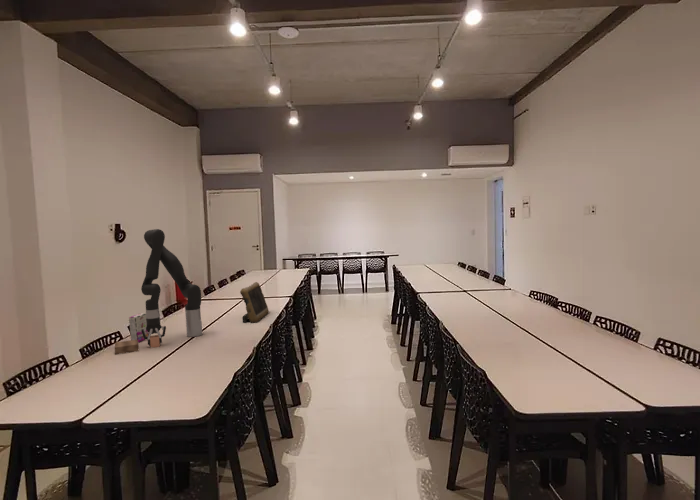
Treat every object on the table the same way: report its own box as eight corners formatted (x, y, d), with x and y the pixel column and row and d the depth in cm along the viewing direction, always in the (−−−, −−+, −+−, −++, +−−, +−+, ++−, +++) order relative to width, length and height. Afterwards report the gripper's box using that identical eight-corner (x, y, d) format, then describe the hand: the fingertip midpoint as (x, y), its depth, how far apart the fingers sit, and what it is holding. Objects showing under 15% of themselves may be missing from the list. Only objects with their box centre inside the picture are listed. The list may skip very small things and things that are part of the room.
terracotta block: (159, 344, 272) (158, 334, 271) (159, 346, 267) (159, 336, 267) (150, 345, 269) (149, 335, 269) (150, 347, 265) (149, 337, 264)
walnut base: (138, 345, 270) (137, 339, 269) (138, 351, 259) (138, 344, 259) (116, 349, 265) (115, 342, 264) (115, 354, 254) (114, 347, 253)
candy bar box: (142, 338, 288) (140, 312, 287) (149, 338, 287) (147, 313, 286) (130, 343, 277) (128, 317, 276) (137, 343, 276) (135, 317, 275)
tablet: (260, 323, 317) (258, 288, 316) (240, 323, 318) (239, 288, 316) (269, 313, 350) (267, 281, 348) (251, 313, 350) (249, 282, 348)
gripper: (165, 314, 273) (167, 341, 275) (139, 317, 267) (141, 345, 268) (166, 316, 267) (168, 344, 268) (139, 319, 260) (141, 348, 262)
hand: (154, 344), depth 268 cm, fingers closed on terracotta block, 5 cm apart
